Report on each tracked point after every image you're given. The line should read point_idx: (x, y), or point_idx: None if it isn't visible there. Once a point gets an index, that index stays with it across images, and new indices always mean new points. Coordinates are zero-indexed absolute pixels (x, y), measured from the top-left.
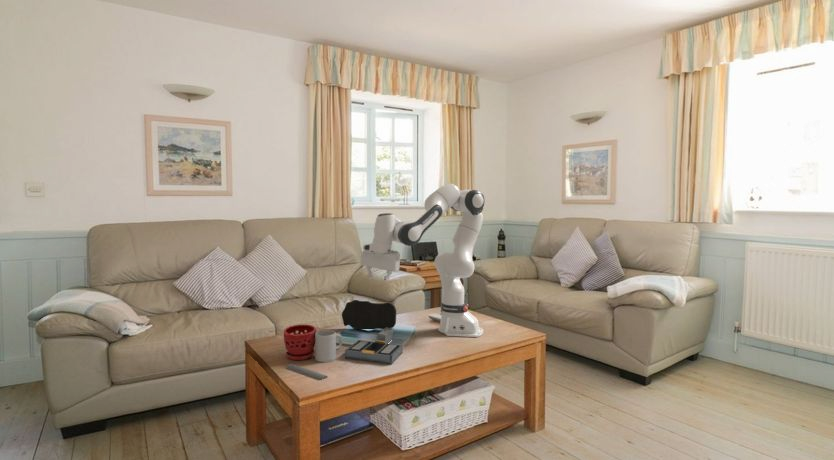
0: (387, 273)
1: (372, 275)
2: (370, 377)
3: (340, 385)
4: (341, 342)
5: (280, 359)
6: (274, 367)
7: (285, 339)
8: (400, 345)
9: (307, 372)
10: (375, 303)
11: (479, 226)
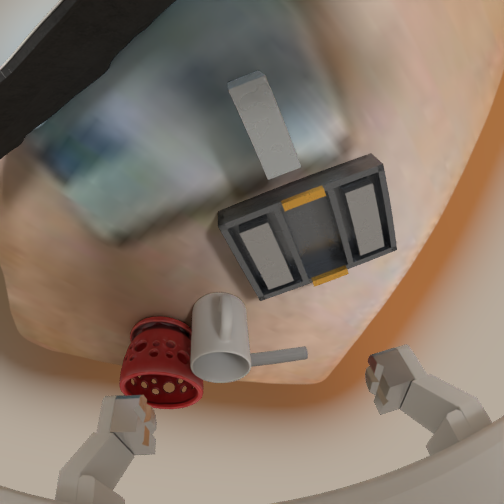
0: (434, 432)
1: (138, 403)
2: (378, 302)
3: (348, 346)
4: (231, 304)
5: None
6: None
7: (164, 395)
8: (378, 170)
9: (266, 364)
10: (30, 38)
11: None
